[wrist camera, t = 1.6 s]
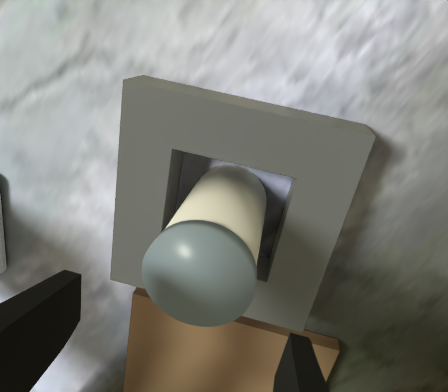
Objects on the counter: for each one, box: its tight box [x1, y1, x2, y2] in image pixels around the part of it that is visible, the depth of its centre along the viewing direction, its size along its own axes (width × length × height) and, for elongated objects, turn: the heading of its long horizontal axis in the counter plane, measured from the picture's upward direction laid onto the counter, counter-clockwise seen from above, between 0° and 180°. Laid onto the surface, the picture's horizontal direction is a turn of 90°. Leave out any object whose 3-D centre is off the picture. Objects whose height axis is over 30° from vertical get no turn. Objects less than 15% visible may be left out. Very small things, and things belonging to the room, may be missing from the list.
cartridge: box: [142, 165, 267, 327], centre depth 18 cm, size 5×5×8 cm
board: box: [123, 287, 340, 392], centre depth 26 cm, size 14×10×1 cm
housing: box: [110, 75, 376, 333], centre depth 20 cm, size 12×12×2 cm
